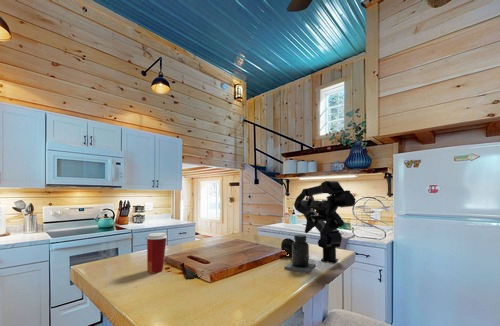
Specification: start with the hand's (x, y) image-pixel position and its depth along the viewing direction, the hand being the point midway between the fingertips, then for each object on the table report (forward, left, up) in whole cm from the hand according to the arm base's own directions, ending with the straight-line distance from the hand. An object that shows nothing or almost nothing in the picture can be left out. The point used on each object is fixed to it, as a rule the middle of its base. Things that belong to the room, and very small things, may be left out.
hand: (313, 233), depth 103 cm
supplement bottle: (+3, -5, -13) cm, 14 cm away
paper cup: (+37, -52, -14) cm, 65 cm away
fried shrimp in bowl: (-16, -14, -14) cm, 25 cm away
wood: (+28, -41, -14) cm, 51 cm away
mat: (+3, -5, -14) cm, 15 cm away
